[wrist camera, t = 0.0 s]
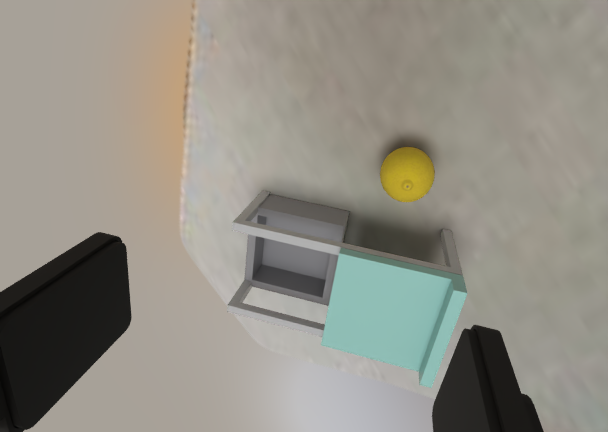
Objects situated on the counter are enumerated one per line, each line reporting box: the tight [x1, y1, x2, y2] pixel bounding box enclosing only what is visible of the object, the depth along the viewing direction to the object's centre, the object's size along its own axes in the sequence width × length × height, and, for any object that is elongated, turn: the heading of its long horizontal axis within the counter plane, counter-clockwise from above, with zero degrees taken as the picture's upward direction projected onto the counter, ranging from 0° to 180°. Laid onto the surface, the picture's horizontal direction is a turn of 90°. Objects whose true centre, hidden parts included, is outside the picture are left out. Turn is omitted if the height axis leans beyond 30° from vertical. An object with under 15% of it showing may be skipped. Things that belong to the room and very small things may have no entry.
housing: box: [227, 191, 463, 337], centre depth 47 cm, size 12×24×10 cm, turn 82°
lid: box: [321, 248, 467, 388], centre depth 40 cm, size 12×12×3 cm
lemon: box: [380, 147, 435, 202], centre depth 41 cm, size 6×6×8 cm
